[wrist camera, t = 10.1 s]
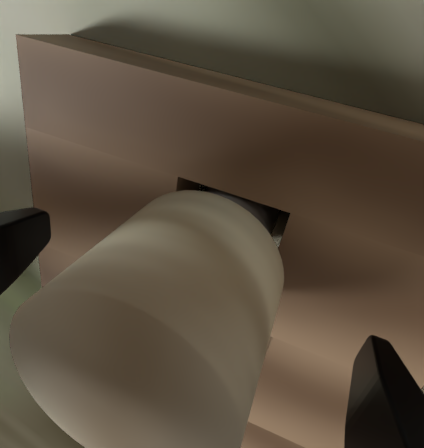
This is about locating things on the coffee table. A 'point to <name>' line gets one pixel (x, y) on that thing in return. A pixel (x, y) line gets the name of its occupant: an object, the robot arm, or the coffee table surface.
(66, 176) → the keyhole board
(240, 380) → the peg
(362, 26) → the coffee table surface
